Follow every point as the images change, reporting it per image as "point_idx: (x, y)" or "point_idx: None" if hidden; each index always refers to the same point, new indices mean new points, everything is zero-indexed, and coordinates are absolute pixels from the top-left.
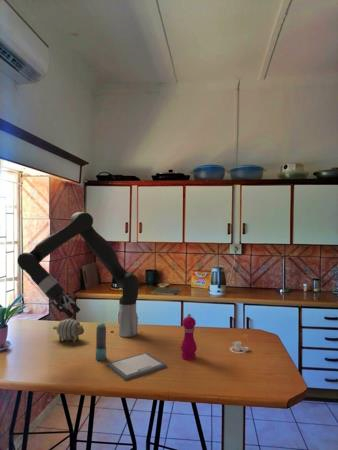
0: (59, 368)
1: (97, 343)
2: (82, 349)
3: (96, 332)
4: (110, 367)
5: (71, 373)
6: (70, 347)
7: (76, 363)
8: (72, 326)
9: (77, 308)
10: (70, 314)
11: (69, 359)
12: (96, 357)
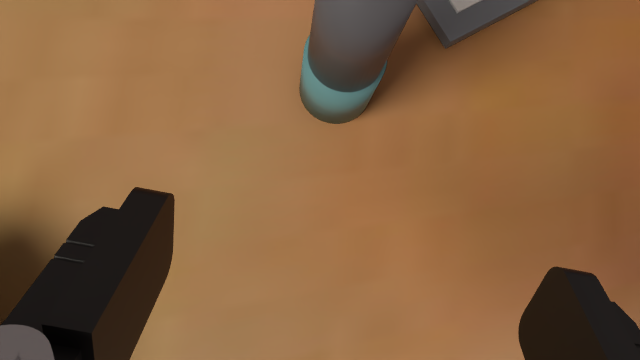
0: (471, 352)
1: (382, 63)
2: None
3: (384, 28)
4: (489, 23)
5: (543, 255)
6: None
7: (400, 246)
8: None
9: (149, 247)
10: (633, 332)
11: (328, 309)
12: (359, 111)
